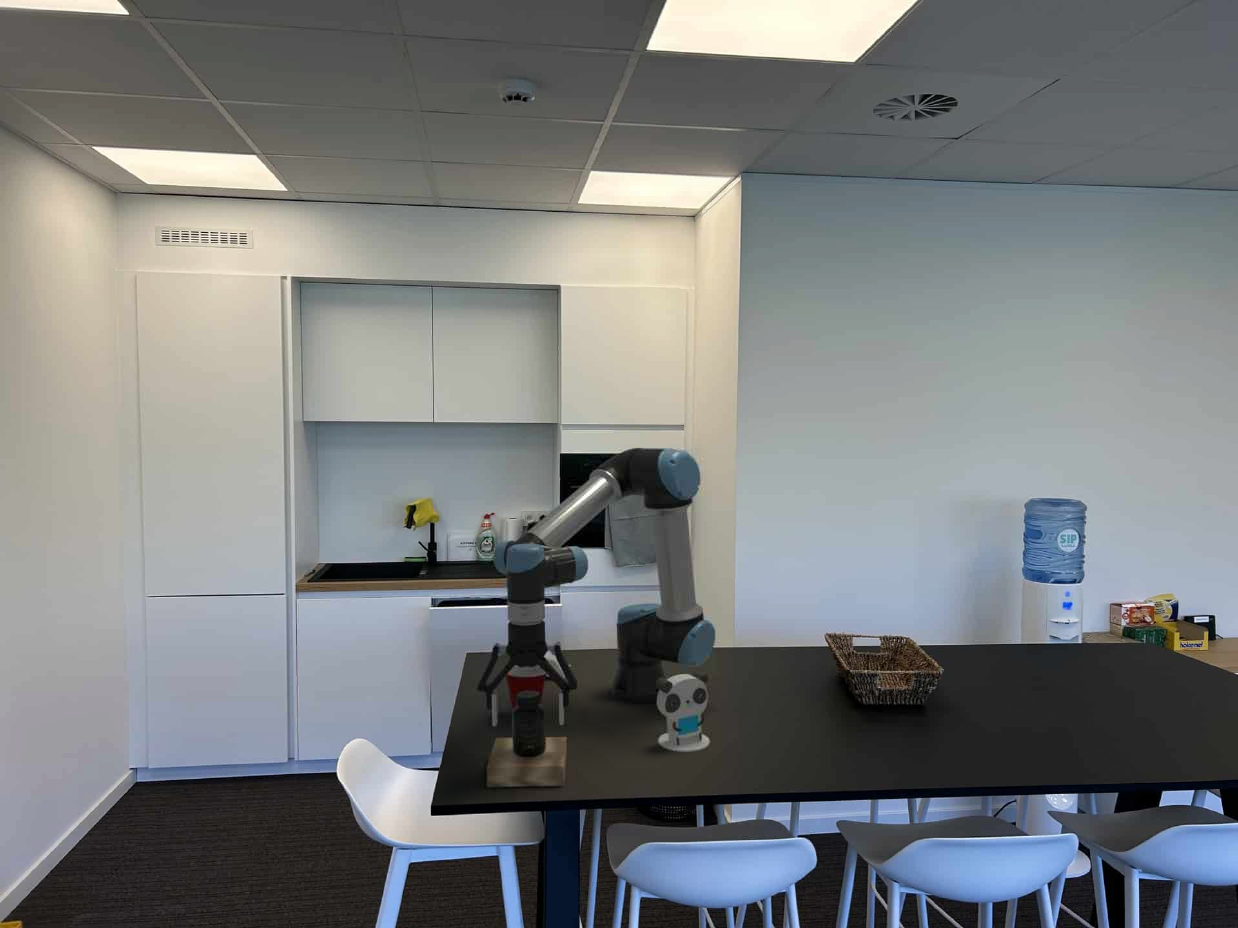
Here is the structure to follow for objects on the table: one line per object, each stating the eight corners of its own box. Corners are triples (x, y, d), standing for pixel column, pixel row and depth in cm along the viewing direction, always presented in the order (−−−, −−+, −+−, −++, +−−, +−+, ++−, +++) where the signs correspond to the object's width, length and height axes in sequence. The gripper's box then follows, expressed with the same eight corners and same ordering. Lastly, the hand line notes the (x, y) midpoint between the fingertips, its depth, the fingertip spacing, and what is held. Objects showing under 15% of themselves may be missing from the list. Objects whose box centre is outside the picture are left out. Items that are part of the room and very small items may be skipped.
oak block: (566, 755, 187) (566, 736, 186) (563, 785, 172) (563, 765, 171) (496, 756, 186) (496, 737, 186) (487, 786, 171) (486, 766, 171)
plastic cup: (556, 711, 213) (555, 663, 212) (538, 727, 203) (537, 676, 202) (516, 707, 217) (515, 659, 216) (496, 722, 206) (495, 672, 206)
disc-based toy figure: (672, 756, 186) (672, 687, 185) (646, 738, 196) (646, 672, 195) (719, 745, 191) (719, 678, 190) (691, 728, 201) (691, 665, 200)
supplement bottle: (513, 745, 182) (512, 689, 181) (545, 744, 182) (545, 687, 182) (512, 758, 175) (511, 700, 174) (546, 757, 176) (545, 698, 175)
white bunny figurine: (564, 682, 245) (515, 661, 247) (574, 655, 244) (525, 634, 246) (558, 692, 237) (507, 670, 238) (569, 664, 236) (518, 642, 237)
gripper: (461, 626, 173) (464, 730, 174) (587, 624, 173) (589, 728, 175) (467, 617, 180) (470, 717, 182) (588, 615, 181) (589, 715, 182)
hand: (528, 723), depth 178 cm, fingers open, 13 cm apart
